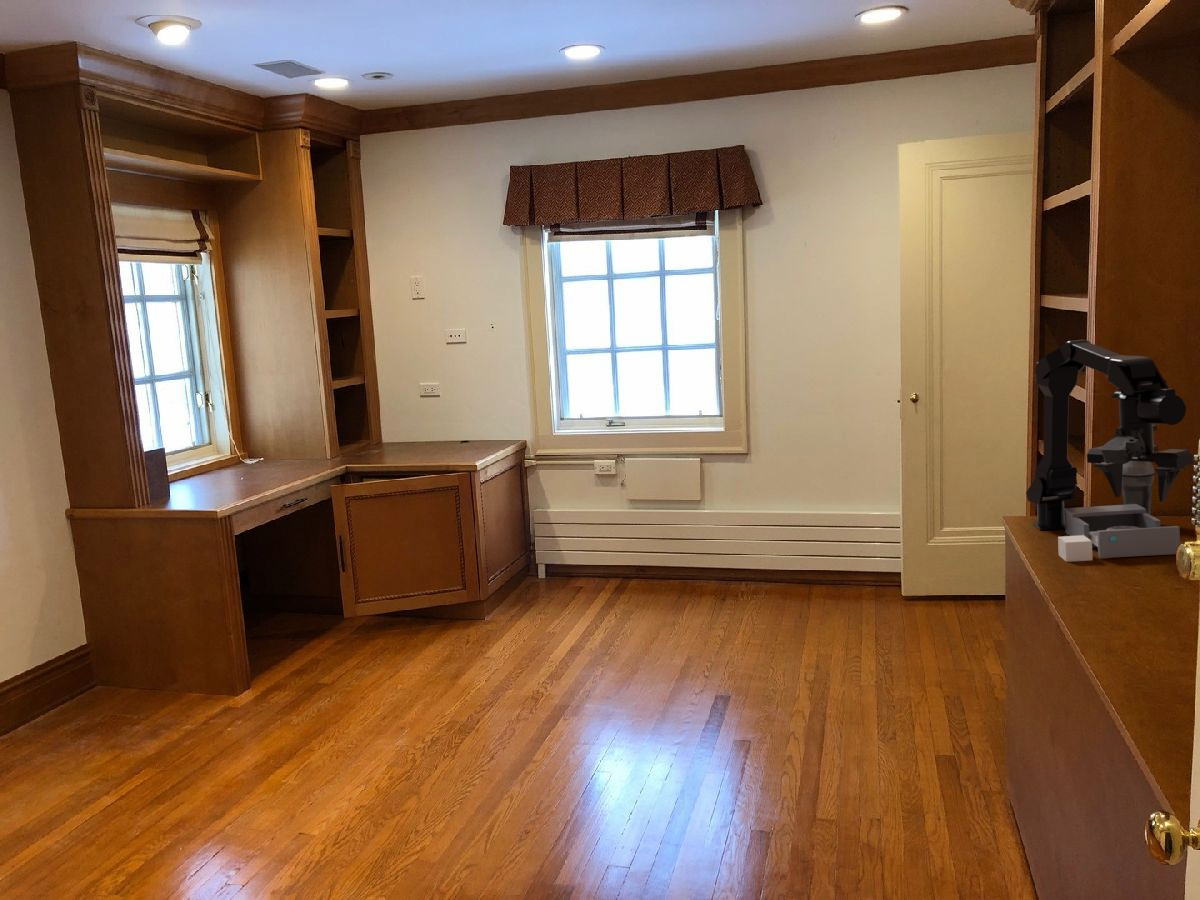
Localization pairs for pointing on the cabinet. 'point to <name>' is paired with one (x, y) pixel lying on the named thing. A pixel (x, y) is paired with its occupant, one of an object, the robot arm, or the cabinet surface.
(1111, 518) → the housing
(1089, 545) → the block
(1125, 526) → the disc
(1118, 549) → the tray
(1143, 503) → the beverage cup
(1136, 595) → the cabinet surface
